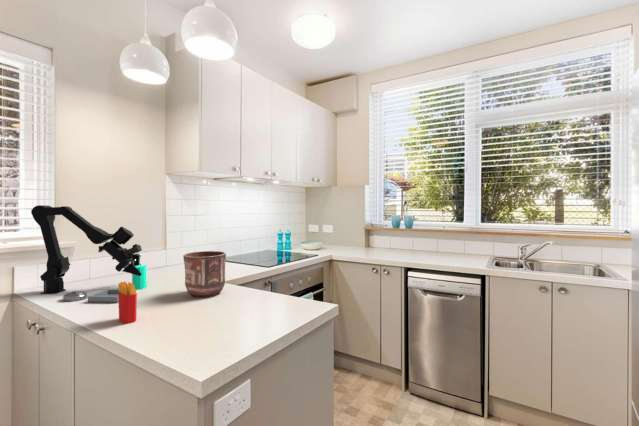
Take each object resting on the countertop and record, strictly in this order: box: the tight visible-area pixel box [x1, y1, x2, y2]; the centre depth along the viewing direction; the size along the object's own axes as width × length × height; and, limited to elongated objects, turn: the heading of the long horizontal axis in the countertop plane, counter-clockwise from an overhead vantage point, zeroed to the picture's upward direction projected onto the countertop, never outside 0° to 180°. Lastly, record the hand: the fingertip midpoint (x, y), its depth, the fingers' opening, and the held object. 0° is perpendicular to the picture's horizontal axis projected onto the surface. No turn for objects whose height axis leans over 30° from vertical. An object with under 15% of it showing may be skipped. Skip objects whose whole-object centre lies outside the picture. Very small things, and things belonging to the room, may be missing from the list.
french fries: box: [118, 281, 138, 324], centre depth 109 cm, size 9×4×13 cm, turn 48°
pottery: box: [183, 250, 227, 298], centre depth 143 cm, size 18×18×18 cm
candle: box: [131, 262, 148, 290], centre depth 153 cm, size 6×6×12 cm
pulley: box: [62, 290, 88, 303], centre depth 134 cm, size 8×8×3 cm
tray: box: [87, 288, 119, 304], centre depth 135 cm, size 12×12×2 cm
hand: (142, 273), depth 153 cm, fingers closed on candle, 6 cm apart
